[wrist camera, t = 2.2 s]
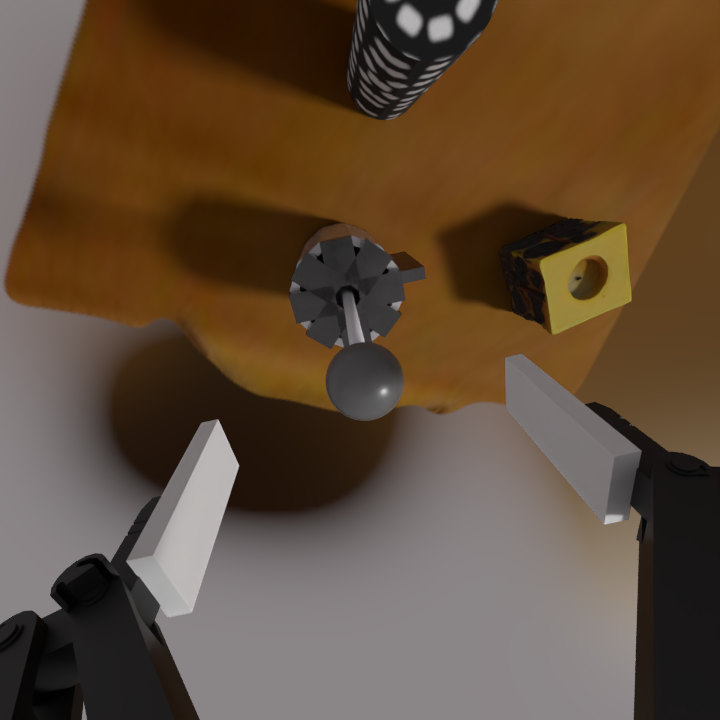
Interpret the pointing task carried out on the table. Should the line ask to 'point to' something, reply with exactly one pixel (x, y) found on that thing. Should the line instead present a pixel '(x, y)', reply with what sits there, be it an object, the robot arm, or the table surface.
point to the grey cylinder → (342, 268)
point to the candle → (568, 272)
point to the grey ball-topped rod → (362, 369)
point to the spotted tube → (408, 48)
